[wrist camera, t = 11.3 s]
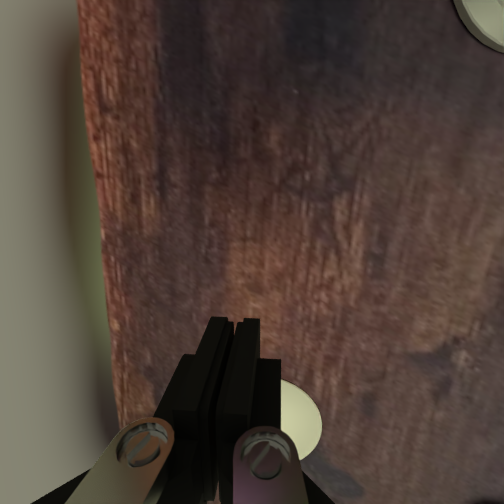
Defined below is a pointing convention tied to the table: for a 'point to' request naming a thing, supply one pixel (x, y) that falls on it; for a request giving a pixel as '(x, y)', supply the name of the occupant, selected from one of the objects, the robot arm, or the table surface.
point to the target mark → (300, 418)
